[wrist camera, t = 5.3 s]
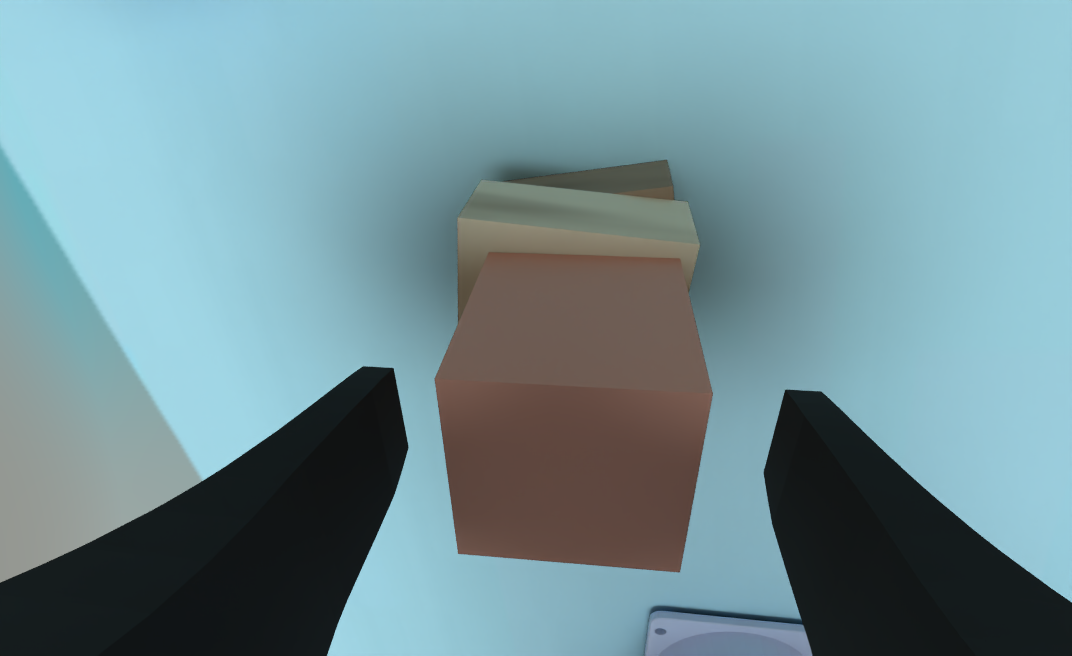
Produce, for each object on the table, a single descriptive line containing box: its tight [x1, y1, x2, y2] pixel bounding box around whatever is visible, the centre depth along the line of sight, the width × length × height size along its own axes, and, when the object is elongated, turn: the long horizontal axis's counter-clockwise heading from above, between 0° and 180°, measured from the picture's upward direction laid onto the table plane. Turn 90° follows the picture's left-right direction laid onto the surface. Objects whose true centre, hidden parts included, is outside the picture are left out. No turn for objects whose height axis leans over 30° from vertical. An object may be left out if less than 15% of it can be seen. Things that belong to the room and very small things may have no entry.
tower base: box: [501, 160, 674, 200], centre depth 16 cm, size 5×5×2 cm
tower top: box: [457, 180, 700, 323], centre depth 14 cm, size 5×5×2 cm
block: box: [435, 252, 713, 572], centre depth 11 cm, size 4×4×4 cm
